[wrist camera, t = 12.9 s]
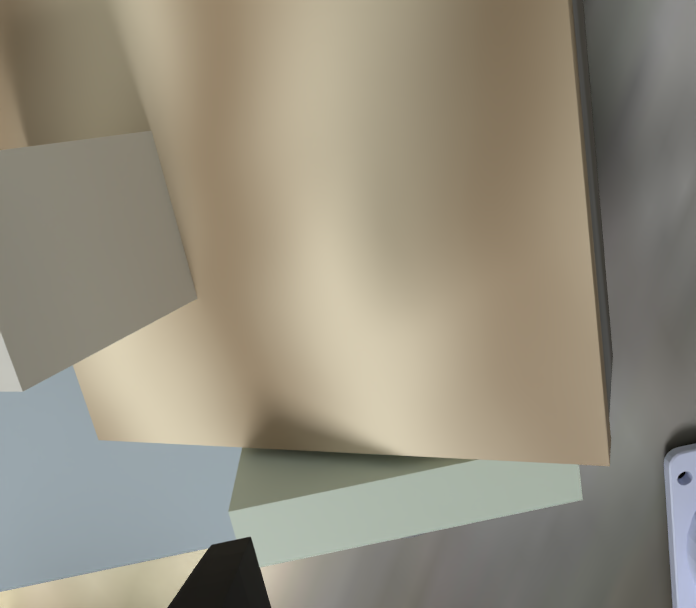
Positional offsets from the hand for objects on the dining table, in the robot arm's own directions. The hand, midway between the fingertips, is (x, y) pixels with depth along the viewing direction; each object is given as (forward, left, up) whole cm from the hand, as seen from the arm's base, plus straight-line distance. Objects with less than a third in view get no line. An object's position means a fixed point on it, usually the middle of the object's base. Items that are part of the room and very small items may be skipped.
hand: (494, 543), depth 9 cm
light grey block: (+5, +7, -8) cm, 11 cm away
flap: (+5, +1, -10) cm, 11 cm away
